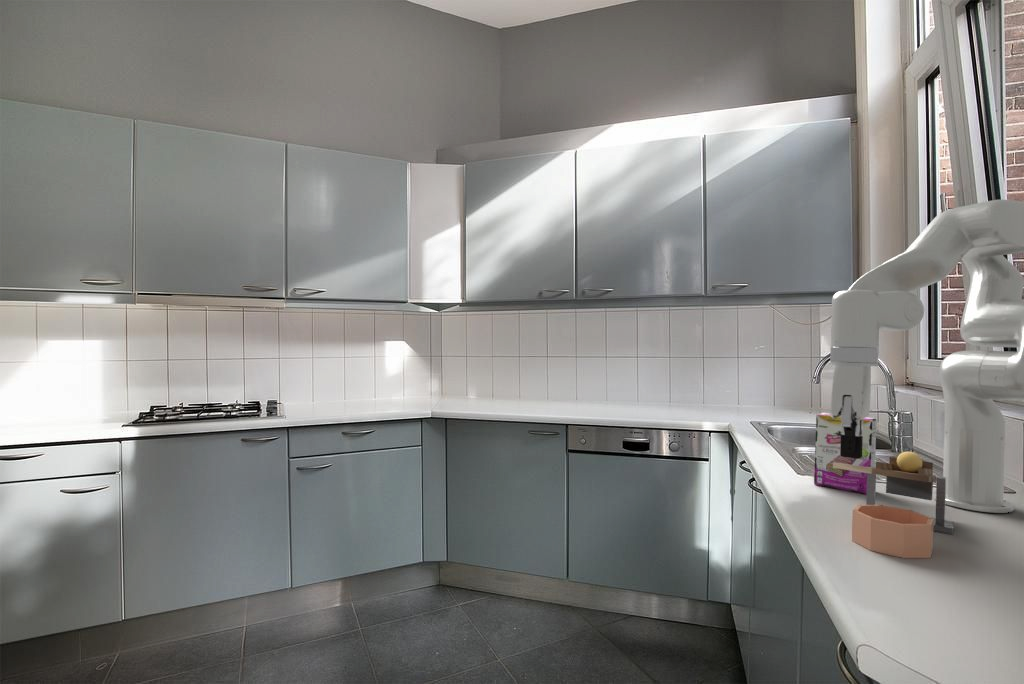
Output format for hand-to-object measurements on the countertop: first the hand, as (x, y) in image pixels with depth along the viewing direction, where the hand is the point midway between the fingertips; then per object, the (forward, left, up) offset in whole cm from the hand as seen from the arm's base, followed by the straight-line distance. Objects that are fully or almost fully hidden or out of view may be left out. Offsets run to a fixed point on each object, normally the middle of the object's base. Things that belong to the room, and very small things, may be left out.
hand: (851, 456), depth 100 cm
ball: (-13, +8, -2) cm, 15 cm away
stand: (-6, +8, -12) cm, 15 cm away
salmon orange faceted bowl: (+10, +8, -12) cm, 17 cm away
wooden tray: (-6, +5, -7) cm, 10 cm away
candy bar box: (-25, -5, -12) cm, 28 cm away
